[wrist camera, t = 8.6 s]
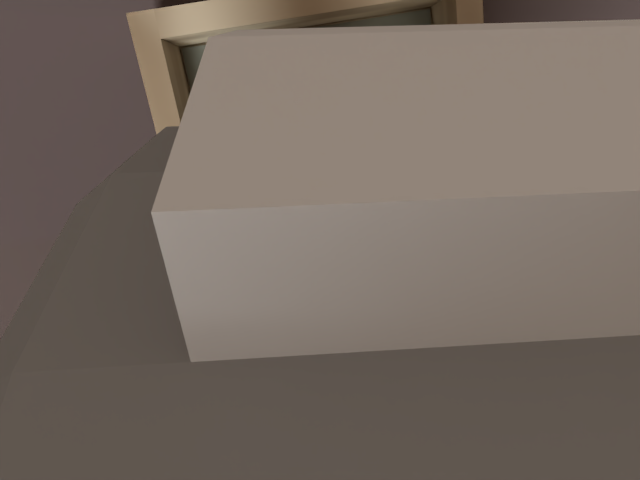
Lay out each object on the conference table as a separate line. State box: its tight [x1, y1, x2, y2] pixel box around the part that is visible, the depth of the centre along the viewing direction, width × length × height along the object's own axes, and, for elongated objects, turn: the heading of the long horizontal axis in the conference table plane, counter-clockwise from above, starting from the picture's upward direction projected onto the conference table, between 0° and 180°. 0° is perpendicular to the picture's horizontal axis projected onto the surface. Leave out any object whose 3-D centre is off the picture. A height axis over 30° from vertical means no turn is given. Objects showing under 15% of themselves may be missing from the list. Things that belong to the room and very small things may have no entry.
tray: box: [126, 0, 484, 134], centre depth 23 cm, size 13×24×4 cm, turn 9°
